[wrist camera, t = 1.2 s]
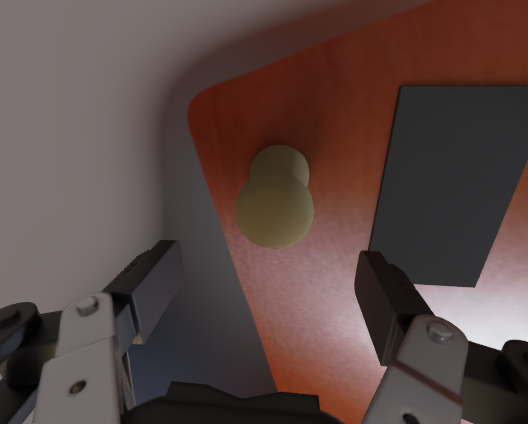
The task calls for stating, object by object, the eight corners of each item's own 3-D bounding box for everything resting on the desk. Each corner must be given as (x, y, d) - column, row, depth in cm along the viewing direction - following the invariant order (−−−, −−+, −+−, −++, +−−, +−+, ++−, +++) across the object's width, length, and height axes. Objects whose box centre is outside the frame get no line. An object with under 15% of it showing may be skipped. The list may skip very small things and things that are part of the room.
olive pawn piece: (239, 157, 25) (206, 193, 15) (297, 134, 24) (305, 156, 13) (262, 210, 27) (246, 274, 17) (317, 192, 26) (336, 248, 15)
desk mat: (399, 86, 21) (401, 85, 21) (553, 86, 20) (558, 85, 20) (362, 278, 29) (363, 281, 29) (472, 285, 28) (474, 287, 28)
